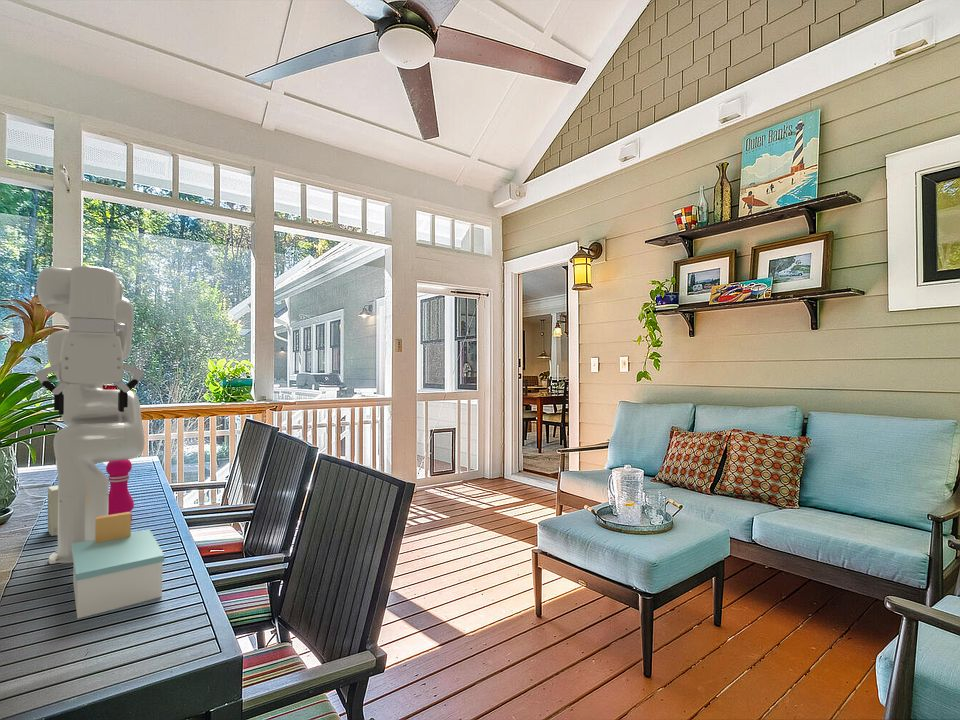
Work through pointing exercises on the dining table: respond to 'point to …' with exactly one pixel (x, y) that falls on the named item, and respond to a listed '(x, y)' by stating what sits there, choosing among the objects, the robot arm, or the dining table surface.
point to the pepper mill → (119, 487)
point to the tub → (117, 589)
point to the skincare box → (53, 510)
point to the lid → (114, 548)
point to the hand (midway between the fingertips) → (91, 412)
